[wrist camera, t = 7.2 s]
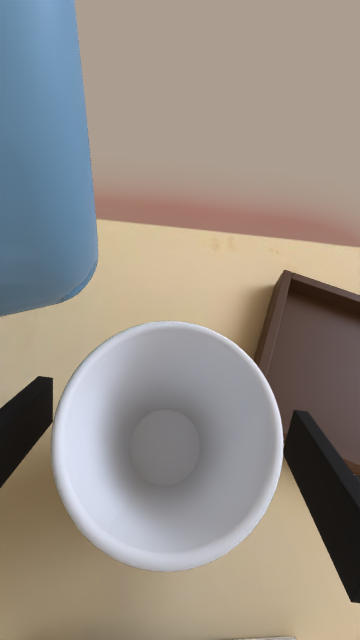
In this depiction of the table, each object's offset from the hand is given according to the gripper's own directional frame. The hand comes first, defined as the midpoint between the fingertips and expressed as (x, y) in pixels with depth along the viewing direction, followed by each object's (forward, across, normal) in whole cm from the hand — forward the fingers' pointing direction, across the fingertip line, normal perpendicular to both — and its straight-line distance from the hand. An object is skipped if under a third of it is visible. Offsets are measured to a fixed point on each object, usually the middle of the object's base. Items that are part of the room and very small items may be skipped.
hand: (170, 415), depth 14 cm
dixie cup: (+3, 0, -5) cm, 6 cm away
